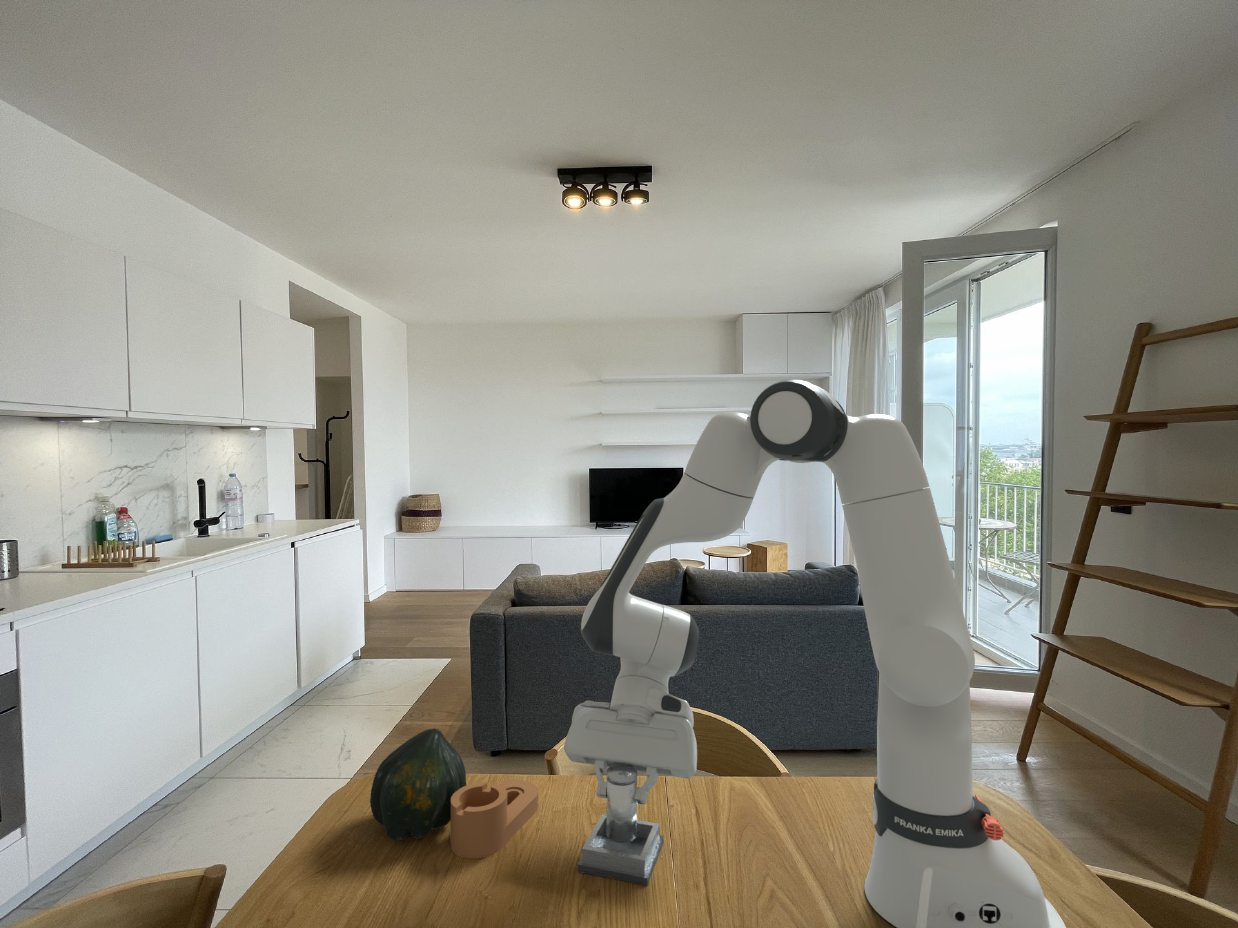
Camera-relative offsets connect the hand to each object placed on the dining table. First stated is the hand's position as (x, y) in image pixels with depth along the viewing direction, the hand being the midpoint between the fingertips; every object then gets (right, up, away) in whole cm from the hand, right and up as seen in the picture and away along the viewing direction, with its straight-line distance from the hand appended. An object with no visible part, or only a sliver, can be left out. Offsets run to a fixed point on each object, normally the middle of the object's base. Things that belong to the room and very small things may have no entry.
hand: (620, 799), depth 88 cm
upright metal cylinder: (0, -5, +1) cm, 5 cm away
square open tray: (0, -8, +1) cm, 8 cm away
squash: (-32, -9, +9) cm, 34 cm away
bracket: (-20, -9, +9) cm, 23 cm away
